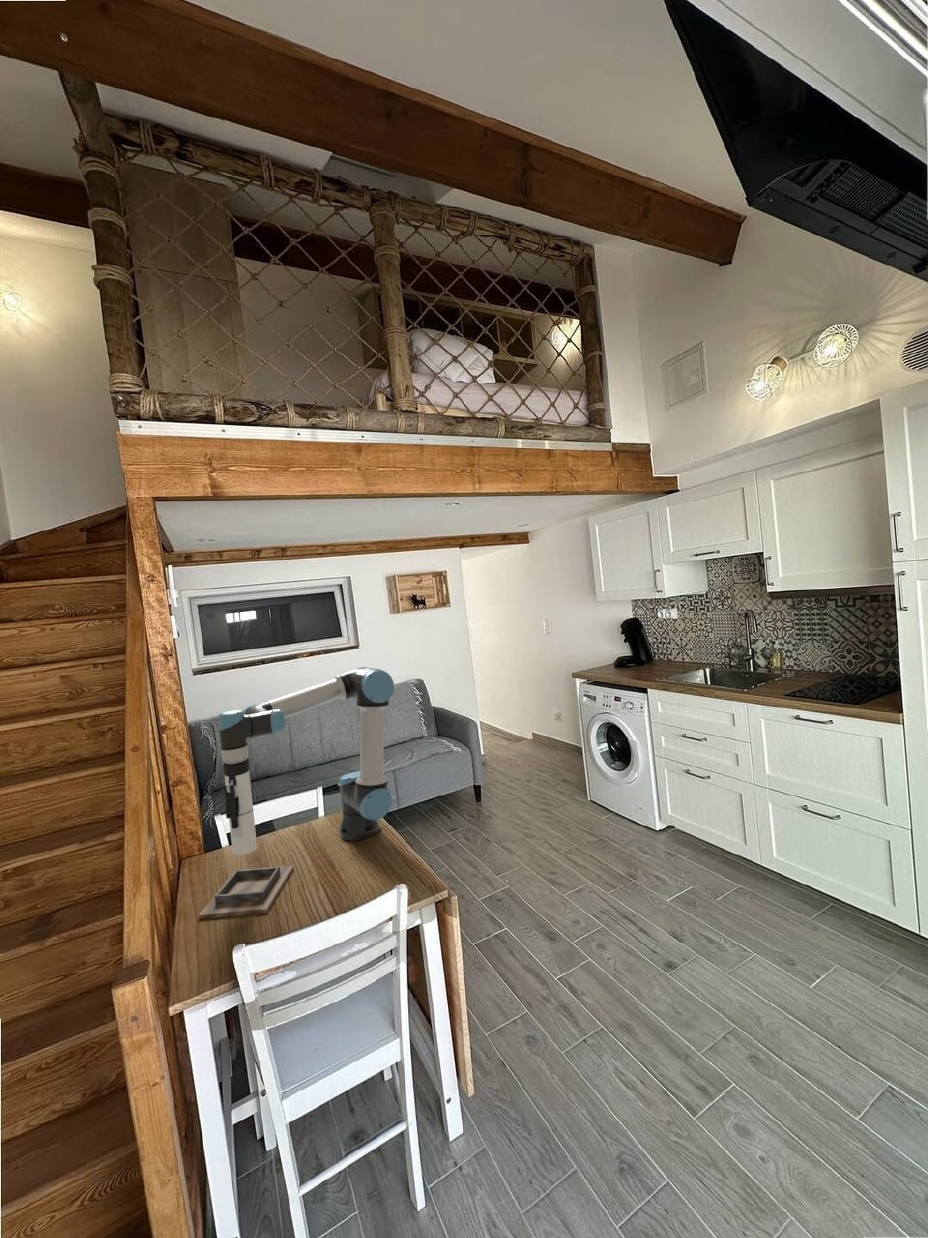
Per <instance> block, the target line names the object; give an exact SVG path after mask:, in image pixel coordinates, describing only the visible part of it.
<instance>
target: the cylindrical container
mask: <svg viewBox="0 0 928 1238" xmlns="http://www.w3.org/2000/svg"><path fill="white" fill-rule="evenodd" d="M249 771H250V770H249ZM249 771H247V772H246V773H243V774H240V775H236V776H235V778H236V786H234V785H233V786H234V788H235V798H236V797H237V796H238V799H239V816H240V817H241V826H242V837H239V838H233V836H232V826H231V818H228V820H229V821H228V823H229V829H230V830H229V831H230V838H231V839H230V841H231V848H232V849H231V850H232V854H233V855H234V856H243V855H248V854H251V853H252V852H254V851H255V850H257V849H258V842H257V834H256V824H255V821H256V820H255V813H254V804H253V802H252V801H253V800H252V792H251V784H252V782H251V783H250V773H251V772H250V773H249ZM231 781H233V780H231ZM224 782H225V784H224V785H225V786H228V785H229V777H228V776H226V775H224Z"/></svg>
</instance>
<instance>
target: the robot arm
mask: <svg viewBox="0 0 928 1238" xmlns="http://www.w3.org/2000/svg"><path fill="white" fill-rule="evenodd" d="M394 691H395V684H394V680H393V678H392V676H391V675H390V674H389V673H388V672H387V671H385V670H383V669H379V668H372V667H366V666H363V667H357V668H354V669H352V670H349V671H346V672H344V673H340V674H337V675H335V676H334V678H333V679H331V680H328V681H325V682H322V683H320V684H317V685H314V686H310V687H307V688H305V689H302V690H299V691H297V692H294V693H290V694H288V695H284V696H282V697H279V698H276V699H273V700H269V701H268V702H264V703H261V704H250V705H249V706H246V708H245V709H244V710H242V709H233V710H226V711H224V712H221V713H220V714H219V715H218V732H219V740H220V749H221V750H220V754H221V757H222V762H223V763H222V769H223V770H222V771H223V775H224V776H225V775H226V776H228V777H229V785H228V786H226V785H224V786H223V791H224V795H225V796H224V797H225V799H224V801H225V816H226V817H225V819H228V820H229V818H231V826H232V836H233V838H239V837H242V826H241V817H240V816H239V799H238V796H237V797H236V798H235V788H234V786H236V778H235V776H236V775H240V774H243V773H246V772H247V771H249V773H250V783H251V792H252V802H253V805H254V803H255V801H254V800H255V797H254V790H253V784H252V780H251V779H252V778H251V776H252V775H251V771H250V760H249V747H248V739H253V738H258V737H262V736H267V735H268V736H269V735H273V734H274V735H275V734H277V733H279V732H280V733H281V732H283V731H284V730H285V728H286V718H290V717H292V716H296V715H298V714H301V713H303V712H306V711H308V710H312V709H315V708H317V707H320V706H323V705H325V704H328V703H331V702H333V701H337V700H339V699H340V700H343V701H344V700H348V699H350V698H351V699H352V698H356V707H357V708H358V709H359V710H360V739H359V740H360V741H359V742H360V743H359V744H360V745H359V747H360V748H359V771H353V772H350V773H346V774H343V776H341V777H340V778H339V792H340V800H341V810H342V817H341V822H340V827H339V837H340V838H341V839H342V840H345V841H351V842H355V841H362V840H366V839H369V838H371V837H373V836H374V835H376V834H377V833H378V832H380V823H379V820H380V819H382V818H384V817H385V816H386V815H387V814H388V812H389V811H390V809H391V807H392V805H393V797H392V794H391V792H390V791H389V789H388V777H386V776H385V775H384V758H385V757H384V755H385V754H384V751H385V750H384V749H385V745H384V744H385V710H386V709H387V708H388V707H389V704H390V703H389V702H390V699H391V697H392V696H393V695H394ZM231 780H233V781H231ZM233 785H234V786H233Z"/></svg>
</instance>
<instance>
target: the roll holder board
mask: <svg viewBox="0 0 928 1238" xmlns="http://www.w3.org/2000/svg"><path fill="white" fill-rule="evenodd" d="M293 871H294V865H285V866H271V867H259V868H248V869H247V868H246V869H237V870H234V871H233V872H232V874H231V875H230V876H229V878H228V879H227V880H226V881H225V882H224V883H223V885H222V886H221V887H220V888H219V890H218V891H217V892H216V893H215V895H213V897H212V898H211V899H210V901H209V902H208V903H207V904H206V905H205V907H203V909H202V911H200V913H199V914H198V919H200V920H201V919H203V920H204V919H213V918H224V917H236V916H237V917H238V916H250V915H259V914H260V915H261V914H267V913H268V912H269V910H270V909H271V907H272V905H273V904H274V902H275V901H276V898H278V895H279V894H280V893H281V891H282V889H283V887H284V886H285V884H286V882H287V880H288V879H289V878H290V875H292V872H293Z"/></svg>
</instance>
